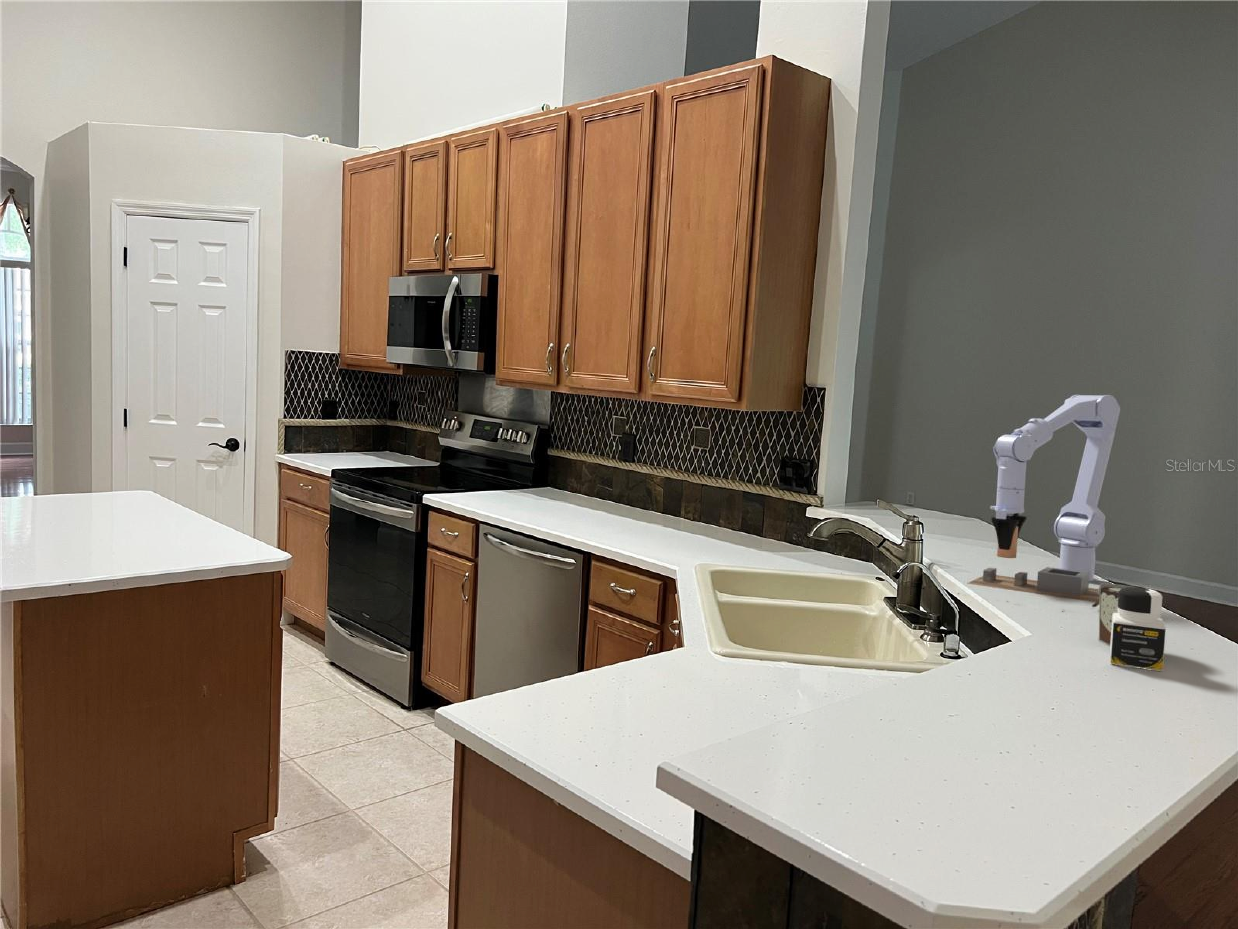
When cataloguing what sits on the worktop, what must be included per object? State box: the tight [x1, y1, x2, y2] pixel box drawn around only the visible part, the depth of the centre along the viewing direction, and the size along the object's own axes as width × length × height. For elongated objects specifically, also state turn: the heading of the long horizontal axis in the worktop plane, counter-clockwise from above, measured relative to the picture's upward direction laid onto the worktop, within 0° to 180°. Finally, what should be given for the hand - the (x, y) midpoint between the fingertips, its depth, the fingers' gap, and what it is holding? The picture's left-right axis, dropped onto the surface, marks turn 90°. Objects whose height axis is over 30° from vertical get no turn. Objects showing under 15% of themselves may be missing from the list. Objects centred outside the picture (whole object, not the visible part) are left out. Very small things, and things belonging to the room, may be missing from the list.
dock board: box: [966, 567, 1100, 608], centre depth 201 cm, size 16×26×4 cm, turn 52°
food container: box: [1097, 582, 1132, 647], centre depth 154 cm, size 12×6×10 cm, turn 179°
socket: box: [1036, 566, 1090, 596], centre depth 198 cm, size 9×9×4 cm
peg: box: [996, 526, 1019, 559], centre depth 205 cm, size 4×4×7 cm
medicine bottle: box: [1109, 586, 1167, 672], centre depth 144 cm, size 7×7×12 cm
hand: (1007, 548), depth 205 cm, fingers closed on peg, 4 cm apart
